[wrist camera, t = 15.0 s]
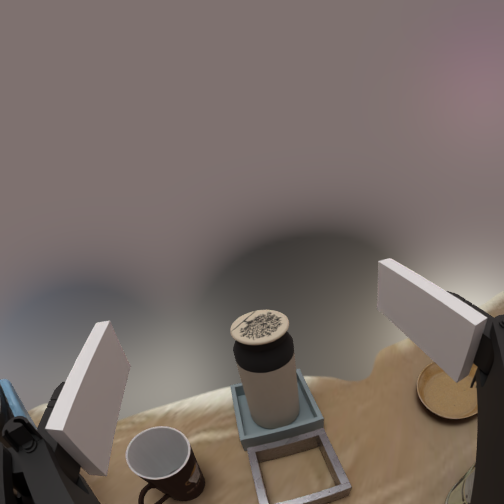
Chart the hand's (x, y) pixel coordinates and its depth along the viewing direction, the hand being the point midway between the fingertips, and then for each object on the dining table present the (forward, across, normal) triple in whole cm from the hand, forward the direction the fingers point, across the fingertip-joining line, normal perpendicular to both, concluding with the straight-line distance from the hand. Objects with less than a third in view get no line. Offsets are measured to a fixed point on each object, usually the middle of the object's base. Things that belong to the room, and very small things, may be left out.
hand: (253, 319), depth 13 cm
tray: (+20, +2, -32) cm, 38 cm away
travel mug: (+20, +2, -31) cm, 37 cm away
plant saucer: (+9, +31, -32) cm, 46 cm away
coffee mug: (+8, -15, -32) cm, 36 cm away
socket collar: (+6, +2, -32) cm, 33 cm away
